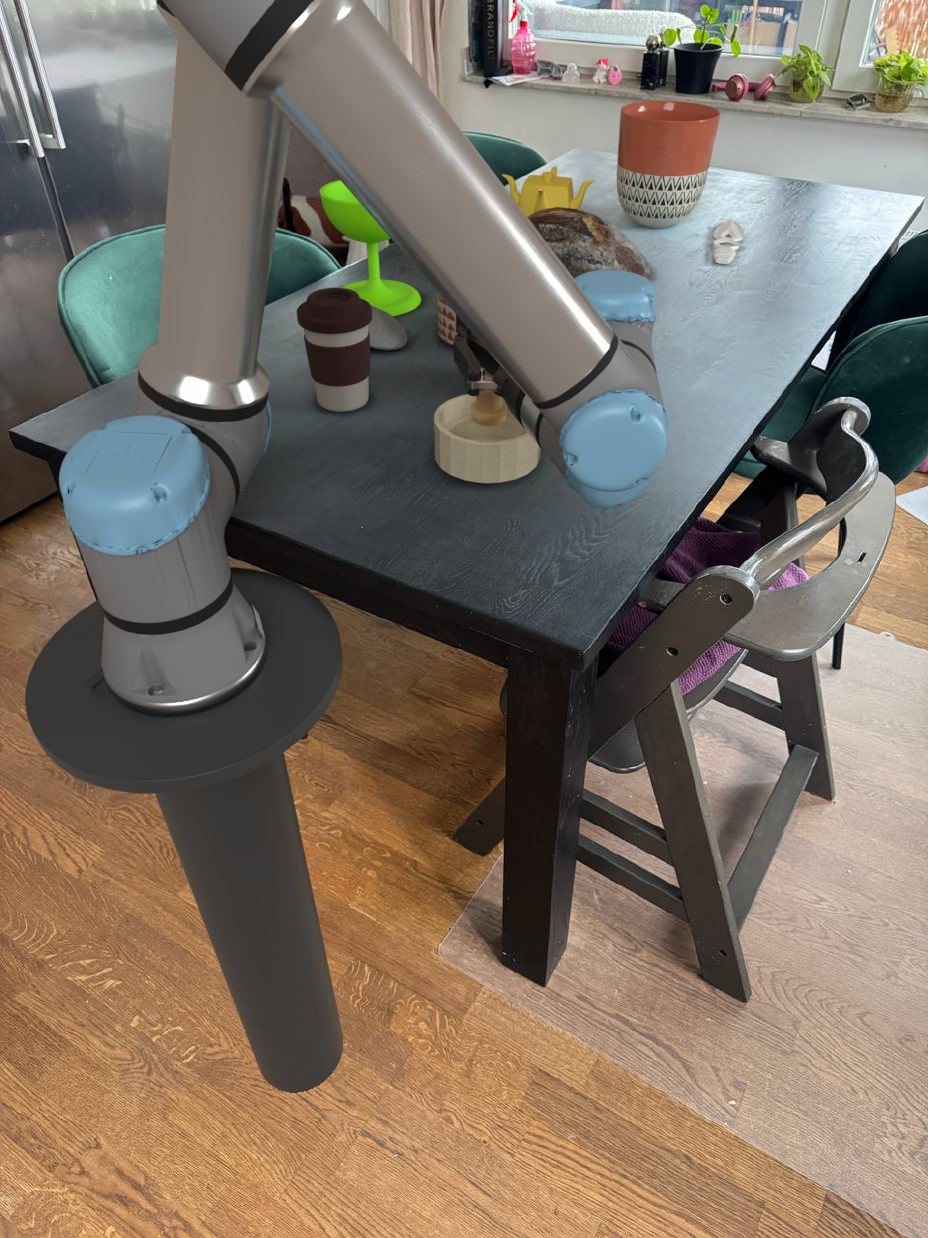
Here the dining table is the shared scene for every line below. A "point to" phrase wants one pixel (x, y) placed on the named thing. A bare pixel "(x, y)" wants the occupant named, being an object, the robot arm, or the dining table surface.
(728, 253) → the white lumpy piece
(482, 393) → the wooden pestle
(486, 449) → the bowl
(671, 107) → the planter
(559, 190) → the teapot
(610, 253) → the bread
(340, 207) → the wineglass
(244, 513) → the dining table surface
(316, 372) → the coffee cup
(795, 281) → the dining table surface
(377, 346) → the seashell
